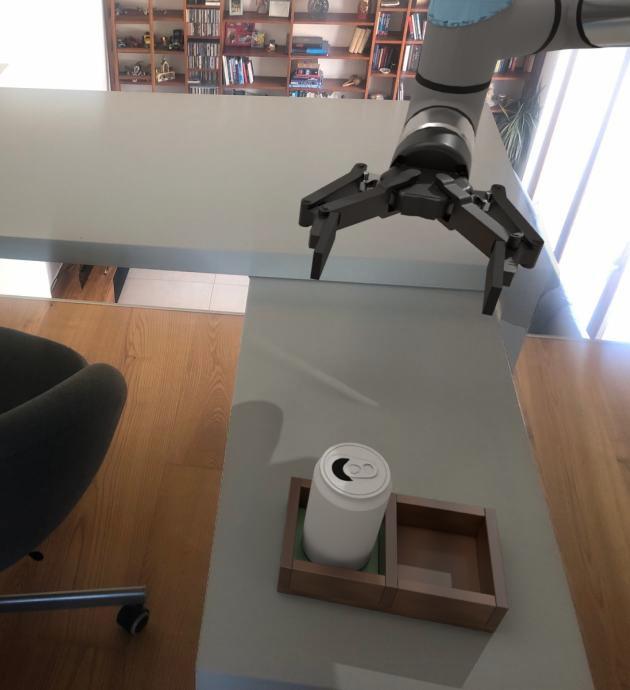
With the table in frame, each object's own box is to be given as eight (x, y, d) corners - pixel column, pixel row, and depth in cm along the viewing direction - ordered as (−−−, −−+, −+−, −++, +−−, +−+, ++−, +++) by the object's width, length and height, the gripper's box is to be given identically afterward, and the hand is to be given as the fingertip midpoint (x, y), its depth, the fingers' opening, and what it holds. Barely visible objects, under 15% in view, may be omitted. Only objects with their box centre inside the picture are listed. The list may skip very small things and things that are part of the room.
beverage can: (298, 516, 67) (312, 436, 59) (365, 519, 67) (388, 439, 59) (303, 577, 62) (318, 499, 54) (375, 580, 62) (401, 502, 54)
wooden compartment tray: (482, 535, 66) (495, 509, 63) (494, 633, 59) (509, 609, 56) (287, 502, 70) (291, 476, 67) (276, 591, 63) (280, 566, 60)
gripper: (554, 216, 68) (555, 354, 54) (305, 175, 76) (247, 288, 61) (582, 145, 63) (592, 277, 49) (312, 109, 70) (252, 214, 56)
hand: (400, 283), depth 55 cm, fingers open, 13 cm apart
